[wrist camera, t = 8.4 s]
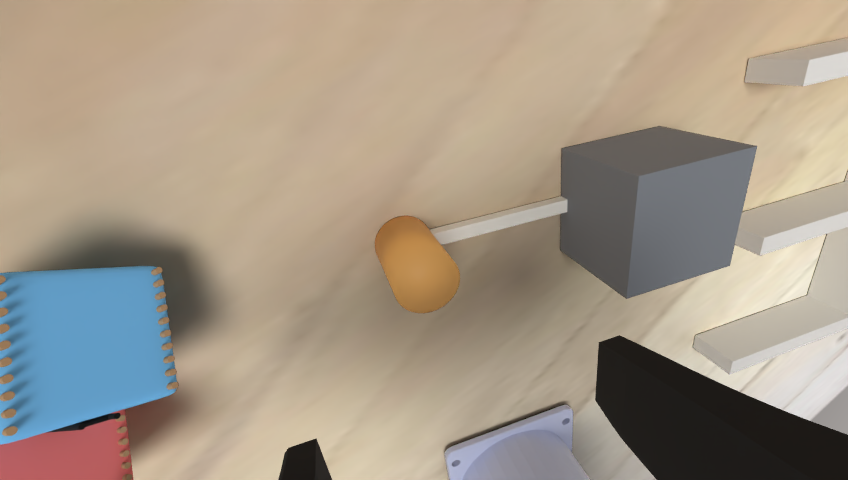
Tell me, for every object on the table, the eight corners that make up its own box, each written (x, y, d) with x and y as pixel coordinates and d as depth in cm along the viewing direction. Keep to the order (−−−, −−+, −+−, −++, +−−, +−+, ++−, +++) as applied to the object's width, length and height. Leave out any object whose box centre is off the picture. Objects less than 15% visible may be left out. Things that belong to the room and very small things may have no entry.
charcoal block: (647, 225, 21) (729, 265, 17) (385, 299, 18) (412, 367, 14) (659, 126, 19) (757, 146, 15) (363, 193, 16) (387, 240, 12)
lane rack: (814, 303, 28) (858, 324, 26) (693, 347, 26) (729, 374, 24) (985, -194, 17) (1087, -230, 15) (794, -179, 15) (880, -218, 13)
